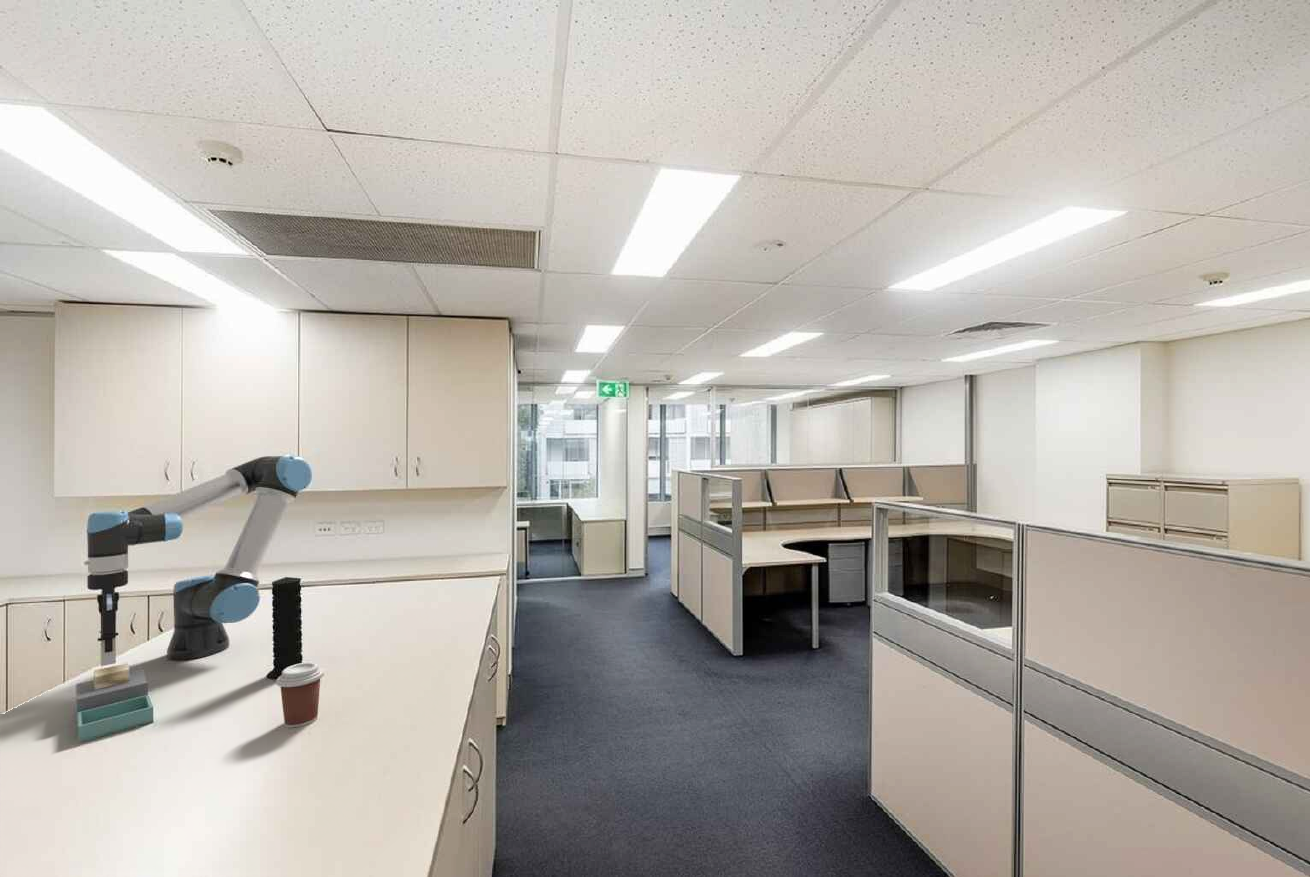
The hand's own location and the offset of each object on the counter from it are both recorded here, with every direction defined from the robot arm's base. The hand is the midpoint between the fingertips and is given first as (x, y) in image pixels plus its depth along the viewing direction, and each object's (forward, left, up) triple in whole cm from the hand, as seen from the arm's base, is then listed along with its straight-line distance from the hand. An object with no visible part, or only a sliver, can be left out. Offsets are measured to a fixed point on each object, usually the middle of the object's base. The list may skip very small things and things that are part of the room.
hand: (108, 663), depth 145 cm
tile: (0, +10, -2) cm, 10 cm away
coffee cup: (-29, +55, -8) cm, 63 cm away
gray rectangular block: (0, +11, -8) cm, 14 cm away
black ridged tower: (-35, +19, -8) cm, 41 cm away
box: (0, +24, -8) cm, 25 cm away
